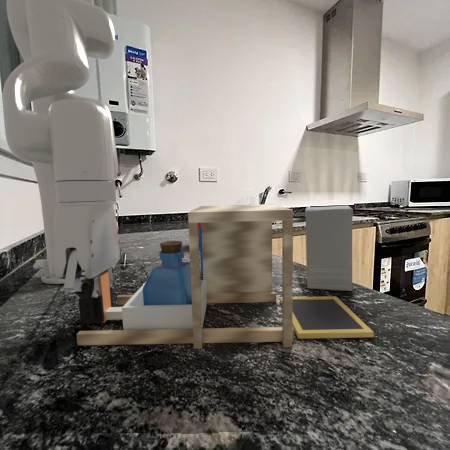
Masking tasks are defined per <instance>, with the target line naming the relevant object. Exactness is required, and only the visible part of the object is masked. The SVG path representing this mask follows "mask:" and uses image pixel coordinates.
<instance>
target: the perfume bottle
mask: <svg viewBox="0 0 450 450" xmlns="http://www.w3.org/2000/svg"><path fill="white" fill-rule="evenodd" d="M159 246H160V249H161V250H160V251H159V252H158V253H159V254H158V255H159V260H160V261H161V263H160V264H159V265H158V266H157V265H156V266H155V267H154V268H152V270H151V272H150V273H149V276H148V277H147V280H146V281H145V282H146V283H145V282H144V283H145V285H144V287H143V302H144V305H191V304H192V295H191V271H190V261H189V262H188V261H183V258H184V257H185V252H184V249H183V248H182V246H183V241H180V240H166V241H161V242H160V243H159Z"/></svg>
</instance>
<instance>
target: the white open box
mask: <svg viewBox="0 0 450 450" xmlns="http://www.w3.org/2000/svg"><path fill="white" fill-rule="evenodd" d="M98 279H99V295H102V297H103V308H104V321H103V322H102V323H101V324H105V323H106V322H107V321H108V320H122V327H123V328H122V330H155V329H193V318H192V304H191V305H144V302H143V287H144V285H145V283H146V281H144V283H143V284H142V286H140V287H139V289H137V291H136V292H135V293H134V294H132V295H133V296H132V297H131V298H130V299H129V301H128V302H127V303H126V304H125V305H122V306H114V307H111V298H110V286H109V274H108V272H102V273H101V274H99V275H98ZM83 283H88V284H89V285H90V286H91V281H83ZM200 285H201V311H202V328H203V327H204V321H205V316H206V312H207V311H206V310H207V305H208V303H207V286H206V280H203V279H202V280H201V279H200Z"/></svg>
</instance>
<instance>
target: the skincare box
mask: <svg viewBox="0 0 450 450" xmlns="http://www.w3.org/2000/svg"><path fill="white" fill-rule="evenodd" d="M353 215H354V209H353V208H352V207H351V206H349V205H336V206H335V205H334V206H333V205H332V206H311V207H310V206H307V207H306V208H305V252H306V255H305V256H306V259H305V261H306V288H307V289H309V290H310V289H311V290H312V289H313V290H329V291H330V290H332V291H346V292H347V291H348V292H351V291H352V290H353V218H354V216H353ZM352 292H353V291H352Z"/></svg>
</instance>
